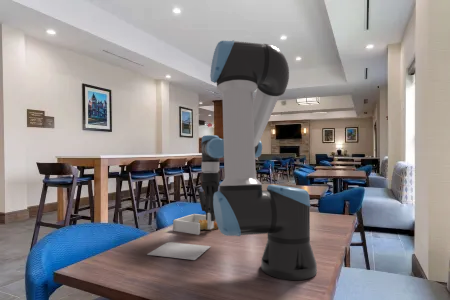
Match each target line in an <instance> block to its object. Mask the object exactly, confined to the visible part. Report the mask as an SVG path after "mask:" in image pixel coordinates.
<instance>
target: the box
mask: <svg viewBox="0 0 450 300" xmlns="http://www.w3.org/2000/svg"><path fill="white" fill-rule="evenodd" d="M199 220H206V214H199V213H193V214H188V215H185V216H182V217H179V218H175V219H173V220H172V227H173V228H172V231H174V232H179V233H184V234H190V235H197V236H199V235H201V230H200V223H199ZM214 222H216V219H215V221H214Z"/></svg>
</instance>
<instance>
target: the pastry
mask: <svg viewBox="0 0 450 300" xmlns="http://www.w3.org/2000/svg"><path fill="white" fill-rule="evenodd" d="M199 223H200V231H203V230H206V231H208V230H210V231H211V230H213V231H214V230H219V228H218V225H217V222H214V228H212V229H207V220H199Z"/></svg>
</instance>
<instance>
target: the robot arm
mask: <svg viewBox="0 0 450 300" xmlns="http://www.w3.org/2000/svg"><path fill="white" fill-rule="evenodd" d="M211 60H212V61H211V66H210V75H209V77H210V81H211V83H214V84H216V90H217V92H219V93H220V94H221V96H222V99H221V100H222V125H223V127H222V130H223V131H222V133H223V138H220V137H219V135H215V134H214V135H211V134H208V135H203V136H202V137H201V143H200V144H201V172H202V173H201V186H200V187H198V188H196V192H197V194H198V198H199V203H200V207H201V211H202V212H204V213H205V215H206V220H207V229H212V228H214V221H215V219H216V222H217V225H218V230H219V232H220V233H221V234H222V235H224V236H225V237H226V236H227V237H230V236H231V237H234V236H237V237H241V236H248V235H249V236H251V235H265V234H266V235H267V241H266V243H265V248H264V250H263V254H262V257H261V266H260V267H261V270H262V272H263V273H264V274H266V275H268V276H271V277H274V278H277V279H280V280H287V281H289V280H290V281H301V280H309V279H311V278H314V277H315V276H316V275H317V273H318V272H317V271H318V270H317V269H318V266H317V265H318V264H317V261H316V258H315V255H314V251H313V248H312V246H311V239H310V238H311V218H310V217H311V213H310V212H311V199H310V194H309V191H307V190H306V189H304V188H298V187H293V186H288V185H287V186H285V185H280V184H279V185H278V184H268V185H267V187H266V190H263V184H262V182H261V181H260V180H259V179H257V174H256V173H257V172H256V158H259V157H261V155H262V151H263V145H262V143H263V142H262V141H261V139H262V137H263V134H264V133H265V130H266V127H267V125H268V123H269V120H270V119H271V116H272V113H273V111H274V109H275V107H276V105H277V102H278V100H279V98H280V97H281V96H283V95H284V94H285V91H286V90H287V87H288V85H289V79H290V69H289V67H290V66H289V63H288V60H287V58H286V57H285V54H283V53H282V51H281V50H280V49H279V48H277V46H275V45H272V44H268V43H255V42H247V41H245V42H244V41H236V40H235V39H234V40H221V41H219V42H218V43H216V46H215V49H214V52H213V55H212V59H211ZM254 92H255V93H254ZM253 94H254V98H253ZM220 159H223V163H224V168H223V169H224V170H223V171H224V179H223V180H222V181H221V182H220V173H219V172H220Z"/></svg>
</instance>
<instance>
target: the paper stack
mask: <svg viewBox="0 0 450 300" xmlns="http://www.w3.org/2000/svg"><path fill="white" fill-rule="evenodd" d="M211 247H212V246H211V245H201V244H191V243H180V242H171V241H170V242H168V241H167V242H165V243H164V244H162V245H160V246H159V247H157V248H155V249H154V250H152V251H150V252H148V253H147V254H146V255H147V256H158V257H165V258H175V259H183V260H191V261H196V260H197V259H198V258H200V256H201V255H203V254H204V253H205V252H206V251H208V250H209V249H210V248H211Z"/></svg>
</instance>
